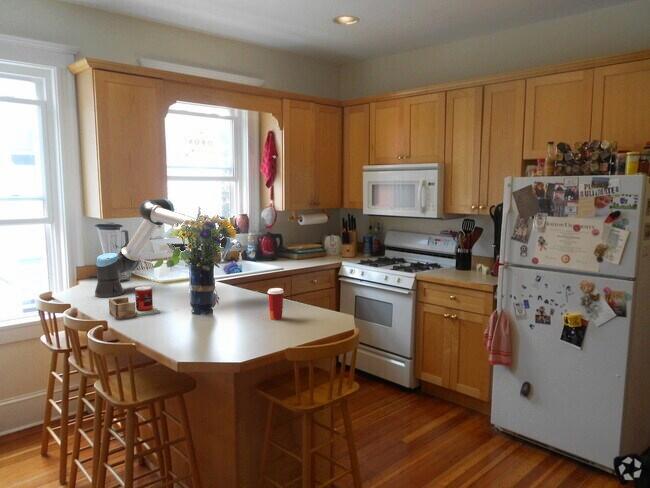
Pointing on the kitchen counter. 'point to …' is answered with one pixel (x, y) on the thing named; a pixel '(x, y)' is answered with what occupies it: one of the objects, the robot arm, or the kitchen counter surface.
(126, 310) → the crate
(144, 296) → the canned food
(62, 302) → the kitchen counter surface
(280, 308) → the paper cup
